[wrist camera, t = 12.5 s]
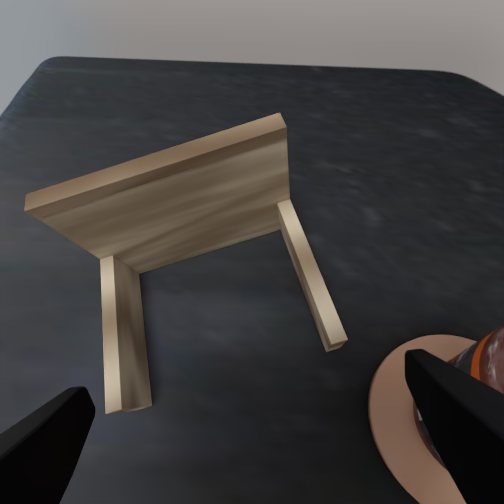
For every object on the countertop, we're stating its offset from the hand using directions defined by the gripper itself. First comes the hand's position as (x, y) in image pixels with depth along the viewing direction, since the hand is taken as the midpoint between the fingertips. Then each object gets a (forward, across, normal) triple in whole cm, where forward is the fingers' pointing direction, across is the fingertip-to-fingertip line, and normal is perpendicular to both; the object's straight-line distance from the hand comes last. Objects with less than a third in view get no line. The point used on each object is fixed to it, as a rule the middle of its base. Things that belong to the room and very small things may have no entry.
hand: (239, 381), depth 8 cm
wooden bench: (+14, +4, +5) cm, 15 cm away
